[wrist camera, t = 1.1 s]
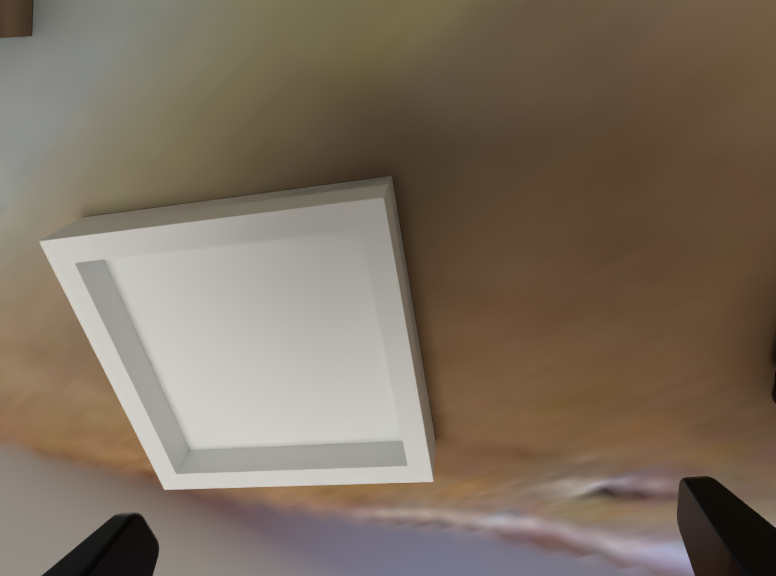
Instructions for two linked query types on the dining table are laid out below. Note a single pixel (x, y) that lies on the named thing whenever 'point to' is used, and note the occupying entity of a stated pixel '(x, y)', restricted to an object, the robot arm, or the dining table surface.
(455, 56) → the dining table surface
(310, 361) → the tray
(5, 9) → the brown rectangular block
